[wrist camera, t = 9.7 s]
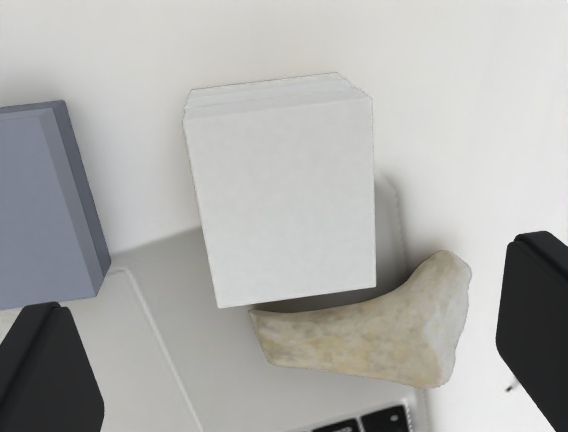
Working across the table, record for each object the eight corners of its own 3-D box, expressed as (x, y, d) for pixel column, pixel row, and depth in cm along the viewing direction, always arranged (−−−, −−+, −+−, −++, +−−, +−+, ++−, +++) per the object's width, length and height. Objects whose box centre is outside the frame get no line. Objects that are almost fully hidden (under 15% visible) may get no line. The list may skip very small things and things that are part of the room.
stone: (452, 234, 25) (499, 286, 21) (466, 326, 28) (510, 389, 23) (243, 297, 25) (246, 361, 21) (278, 382, 28) (286, 454, 24)
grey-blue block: (-57, 114, 20) (-102, 132, 17) (64, 99, 20) (38, 115, 18) (8, 276, 24) (-21, 313, 21) (111, 262, 24) (96, 297, 21)
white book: (185, 108, 18) (181, 119, 16) (360, 87, 18) (372, 96, 16) (218, 284, 21) (217, 309, 19) (365, 265, 21) (376, 287, 19)
